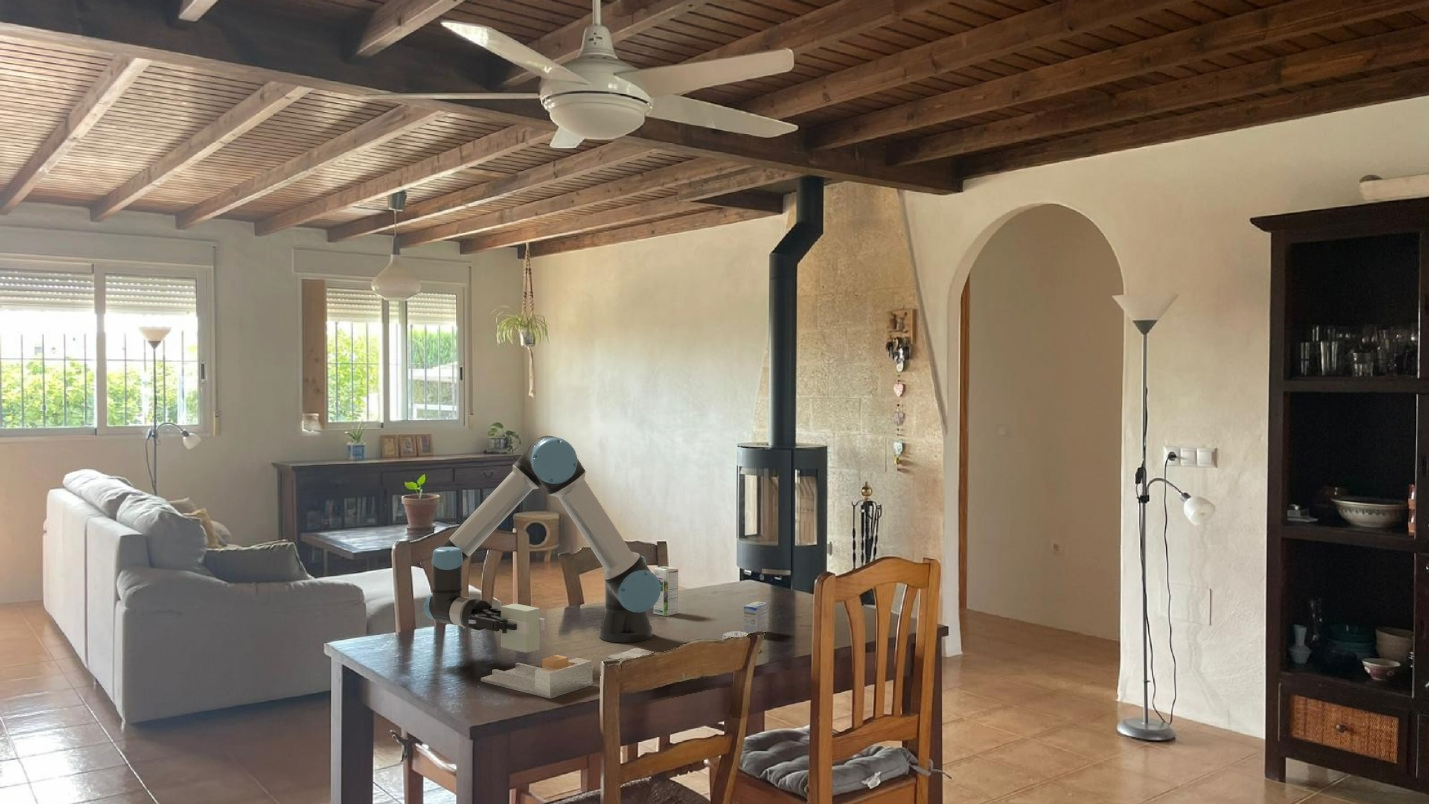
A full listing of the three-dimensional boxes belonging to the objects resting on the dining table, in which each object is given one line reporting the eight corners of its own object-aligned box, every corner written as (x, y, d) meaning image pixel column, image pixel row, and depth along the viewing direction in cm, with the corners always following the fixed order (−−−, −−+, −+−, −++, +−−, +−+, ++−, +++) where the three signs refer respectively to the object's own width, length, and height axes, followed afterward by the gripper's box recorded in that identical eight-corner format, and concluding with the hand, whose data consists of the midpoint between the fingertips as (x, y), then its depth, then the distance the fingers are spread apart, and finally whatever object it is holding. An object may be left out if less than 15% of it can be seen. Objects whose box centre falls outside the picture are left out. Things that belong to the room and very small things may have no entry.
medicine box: (755, 630, 310) (755, 600, 310) (768, 632, 308) (768, 602, 308) (743, 636, 303) (743, 606, 303) (757, 637, 301) (757, 607, 301)
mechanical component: (756, 654, 283) (753, 645, 293) (755, 638, 283) (753, 629, 293) (718, 654, 283) (717, 645, 293) (718, 638, 283) (717, 629, 293)
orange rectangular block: (556, 679, 255) (556, 654, 255) (568, 682, 252) (568, 657, 252) (542, 683, 251) (542, 658, 251) (554, 686, 249) (554, 661, 249)
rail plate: (523, 668, 268) (523, 646, 268) (592, 684, 254) (592, 660, 254) (480, 681, 257) (480, 657, 257) (550, 698, 243) (550, 673, 243)
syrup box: (652, 613, 332) (652, 567, 332) (666, 610, 336) (666, 565, 336) (665, 616, 328) (665, 570, 328) (679, 613, 333) (678, 567, 332)
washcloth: (634, 656, 283) (634, 644, 282) (686, 667, 271) (686, 655, 271) (603, 665, 273) (603, 653, 273) (655, 677, 262) (655, 665, 262)
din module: (514, 643, 263) (514, 603, 263) (539, 649, 257) (540, 608, 257) (500, 646, 259) (500, 606, 259) (526, 652, 254) (526, 611, 254)
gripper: (498, 622, 276) (561, 635, 262) (444, 634, 262) (508, 649, 248) (498, 593, 276) (561, 605, 262) (444, 604, 262) (508, 617, 248)
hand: (535, 626), depth 255 cm, fingers closed on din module, 4 cm apart
